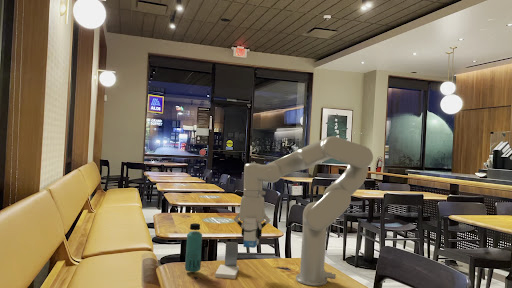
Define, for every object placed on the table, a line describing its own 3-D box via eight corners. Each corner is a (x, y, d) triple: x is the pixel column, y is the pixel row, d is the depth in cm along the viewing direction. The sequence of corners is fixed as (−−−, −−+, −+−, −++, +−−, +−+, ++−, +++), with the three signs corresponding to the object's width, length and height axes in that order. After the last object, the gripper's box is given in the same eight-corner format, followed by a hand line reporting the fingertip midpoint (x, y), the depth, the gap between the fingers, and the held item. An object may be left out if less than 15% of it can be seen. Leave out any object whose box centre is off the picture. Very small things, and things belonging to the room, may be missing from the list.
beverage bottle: (186, 276, 156) (189, 225, 156) (182, 270, 162) (185, 222, 162) (202, 274, 158) (205, 225, 158) (198, 269, 165) (200, 221, 164)
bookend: (236, 266, 167) (237, 242, 167) (236, 266, 166) (237, 243, 166) (224, 265, 168) (226, 241, 168) (224, 265, 167) (226, 242, 167)
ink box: (255, 248, 156) (256, 218, 156) (242, 247, 157) (243, 217, 157) (259, 243, 164) (260, 214, 164) (247, 242, 165) (248, 214, 165)
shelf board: (238, 269, 167) (238, 266, 167) (234, 278, 156) (235, 275, 156) (220, 268, 168) (220, 264, 168) (215, 277, 157) (215, 273, 157)
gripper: (274, 193, 163) (272, 237, 163) (233, 191, 165) (232, 235, 165) (273, 195, 156) (271, 241, 156) (230, 194, 157) (229, 239, 157)
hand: (251, 237), depth 160 cm, fingers closed on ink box, 5 cm apart
